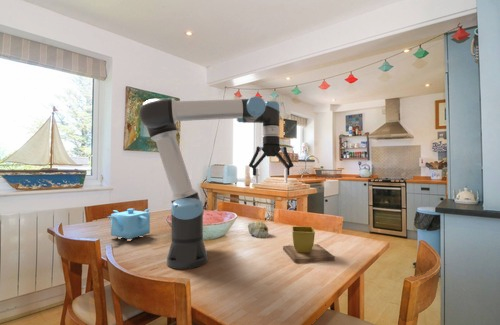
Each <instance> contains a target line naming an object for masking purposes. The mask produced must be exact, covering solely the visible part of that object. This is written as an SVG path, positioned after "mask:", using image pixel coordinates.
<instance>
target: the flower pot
mask: <svg viewBox="0 0 500 325" xmlns="http://www.w3.org/2000/svg"><path fill="white" fill-rule="evenodd" d="M291 230H292V231H291V232H292V242H293V246H294V247H295V250H296V251H297V252H303V253H310V251H311V250H312V247H313V245H315V244H314V243H315V235H316V233H315V232H316V231H315V229H314V227H313V226H297V225H296V226H295V225H294V226H293V225H292V227H291Z"/></svg>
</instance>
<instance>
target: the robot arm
mask: <svg viewBox="0 0 500 325" xmlns="http://www.w3.org/2000/svg"><path fill="white" fill-rule="evenodd" d="M138 112H139V113H138V116H139V119H140V121H141V123H142V124H143V125H144V126H145V127H146V128H147V131H148V134H149V137H150V140H151V141H153V142H155V144H156V148H157V149H158V153H159V156H160V159H161V162H162V165H163V168H164V171H165V174H166V178H167V180H168V184H169V187H170V190H171V193H172V197H171V199H170V201H171V209H170V213H171V243H170V246H169V250H168V253H167V256H166V266H168V267H169V268H172V269H176V270H186V269H194V268H199V267H201V266H203V265H205V264H206V263H207V262H208V252H207V248H206V245H205V243H204V238H203V237H204V209H205V208H204V205H203V204H204V203H203V202H202V200H201V198H200V196H199V193H198V191H197V190H196V189H194V188H193V185H192V182H191V180H190V177H189V173H188V170H187V168H186V163H185V160H184V157H183V156H182V151H181V148H180V146H179V143H178V138H177V134H178V128H177V125H176V124H177V123H178V122H183V121H184V122H188V121H189V122H190V121H209V120H210V121H211V120H232V119H236V121H237V122H238V123H244V124H247V123H250V124H251V123H253V124H254V123H257V124H258V123H259V124H262V135H263V137H262V146H259V145H258V146H256V147H255V152H254V154H253V155H252V157H251V160H250V162H249V165H248V167H249V168H252V175H253V176H254V183H255V184H258V183H259V173H258V172H259V168H257V167H258V166H259V165H260V164H261V163H262V162H263V161H264V159H265V158H266V157H276V158H278V160H279V161H280V162H281V164H282V165H283V166H284V167H285V168H283V179H284V180H283V183H284V184H288V176H290V169H291V168H293V167H294V163H293V161H292V159H291V157H290V155H289V152H287V151H288V148H287V147H286V146H283V147H281V146H280V112H281V110H280V104H279V102H278V101H275V100H266V101H265V100H264V99H263V98H262V97H260V96H252V97H250V98H243V99H241V98H237V99H235V98H234V99H206V100H205V99H202V100H176V99H175V98H173V97H172V98H171V97H170V98H150V99H148V100H146V101H144V102H142V104H141V105H140V108H139V111H138ZM261 151H262V152H263V153H262V155H260V157H259V158H258V159H257V157H258V155H259V153H260V152H261ZM280 151H281V153H282V154H283V155H284V158H283V156H282V155H281V154H280ZM256 159H257V160H256ZM255 161H256V162H255ZM286 161H287V162H286Z"/></svg>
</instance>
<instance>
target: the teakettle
mask: <svg viewBox="0 0 500 325" xmlns="http://www.w3.org/2000/svg"><path fill="white" fill-rule="evenodd" d="M150 210H151V208H147V209H144V211H141V210H135V208H127V210H125V211H120V212H119V211H118V210H115V209H114V210H112V211H113V213H111V214H110V215H109V216H107V218H109V219H110V220H111V221H110V226H111V227H110V235H111V236H113V237H116V238H118V237H122V238H123V239H134V238H138V236H144V237H145V235H147V234H148V235H149V234H150V233H151V231H150V230H151V221H150V220H151V216H150V214H151V213H150V212H149V211H150Z"/></svg>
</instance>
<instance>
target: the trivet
mask: <svg viewBox="0 0 500 325" xmlns="http://www.w3.org/2000/svg"><path fill="white" fill-rule="evenodd" d="M282 250H283V251H284V252H285V253H286V255H287V256H288V257H289V258H290V259H291V260H292V262H293V263H294V264H302V263H317V262H334V261H336V256H334V255H333V254H332V253H331V252H329V251H328V250H327V249H326V248H324V247H323V246H321V245H320V244H318V243H317V244H313V247H312V250H311V251H310V253H303V252H297V251H296V250H295V247H294V245H284V246H282Z"/></svg>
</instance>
